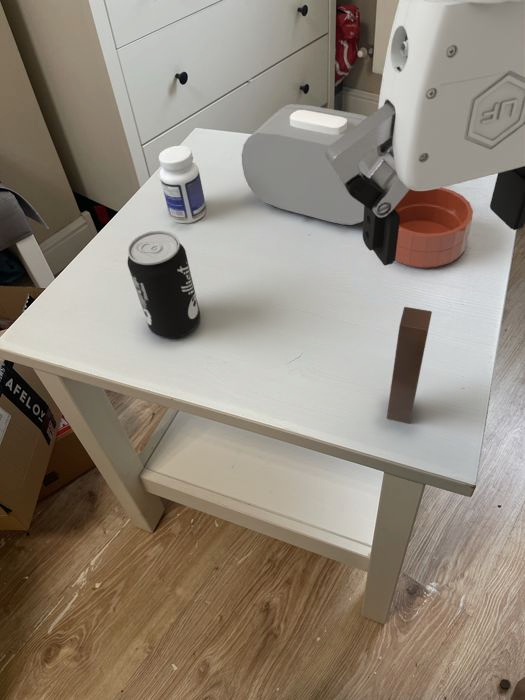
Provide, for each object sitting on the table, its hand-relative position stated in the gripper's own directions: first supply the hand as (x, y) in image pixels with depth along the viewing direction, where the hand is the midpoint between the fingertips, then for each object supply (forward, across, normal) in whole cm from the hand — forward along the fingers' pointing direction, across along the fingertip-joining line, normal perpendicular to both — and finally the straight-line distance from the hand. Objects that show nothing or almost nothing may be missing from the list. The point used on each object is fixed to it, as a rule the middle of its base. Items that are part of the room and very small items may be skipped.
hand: (443, 235), depth 40 cm
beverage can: (+24, -20, +24) cm, 40 cm away
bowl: (+24, +16, +26) cm, 39 cm away
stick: (+24, 0, +2) cm, 24 cm away
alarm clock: (+24, +6, +41) cm, 48 cm away
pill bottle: (+24, -13, +47) cm, 54 cm away
